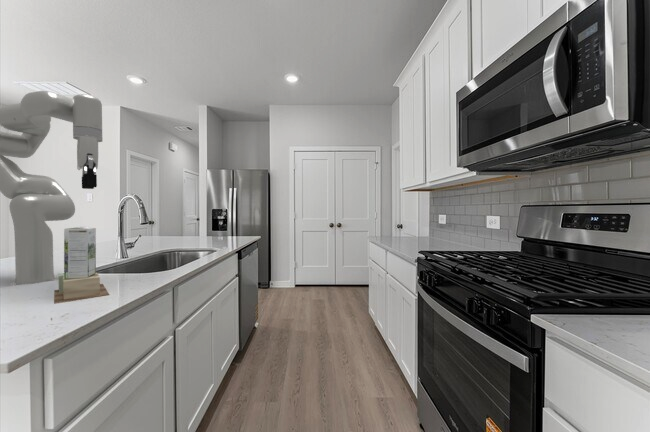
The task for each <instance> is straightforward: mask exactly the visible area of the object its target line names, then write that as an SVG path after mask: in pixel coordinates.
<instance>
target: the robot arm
mask: <svg viewBox="0 0 650 432" xmlns="http://www.w3.org/2000/svg"><path fill="white" fill-rule="evenodd" d="M52 118H54V119H59V120H61V121H66V122H69V123H72V137H73V139H74V140H77V142H76V163H77V164H76V165H77V166H76V169H77V170H78V171H80V170H81V169H82V170H81V171H82V175H81V188H82V189H86V190H87V189H88V190H93V189H95V188H97V186H98V180H97V172H96V171H97V170H98V167H99V143H102V142H103V104H102V101H101V100H100V99H99V98H97V97H95V96H92V95H89V94H76V95H74V96H73V97H72V98H71V97H67V96H65V95H62V94H59V93H55V92H53V91H50V90H49V91H48V90H38V91H33V92H28V93H25V94H24V95H23V97H22V99H21V101H20V103H15V104H14V103H13V104H8V105H2V106H0V127H1V128H3V129H6V130H8V131H12V132H17V133H22V134H21V135H20V134H16V133H15V134H14V133H11V132H10V133H9V132H4V131H0V193H1V194H2V195H3V196H5V198H6V199H7V198H8V199H10V201H9V206H8V207H9V212H10V215H11V219H12V224H13V230H14V234H13V235H14V256H15V257H14V259H15V260H14V261H15V262H14V263H15V281H14V282H12V283H10V284H9V285H8V287H11V286H21V285H31V284H39V283H40V284H41V283H45V282H53V281H58V277H55V275H54V274H55V273H54V272H55V271H54V237H53V231H52V229H51V228H50V226H49V225H48V224H47V222H53V221H55V222H56V221H65V220H69V219H71V218H72V217H73V216H74V215H75V213H76V206H75V203H74V200H73V199H72V198H71V196H70V195H69V194H68V193H67V192H66V191H65V189H64V188H63V187H62V186H61V185H60V184H59V183H58V181H56V180H55V179H54V178H52V177H50V176H46V175H40V174H31V173H26V172H24V171H23V170H22V169H21V168H20V167H19V166H18V164H17V163H16V162H14V161H12V160H11V159H10V158H7V157H12V158H18V159H26V158H30V157H32V156H33V155H34V154H35V153H36V152H37V150H38V149H39V148H40V146H41V144H42V143H43V141H44V140H45V139H46V138H47V136H48V134H49V133H50V130H51V121H52Z"/></svg>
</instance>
